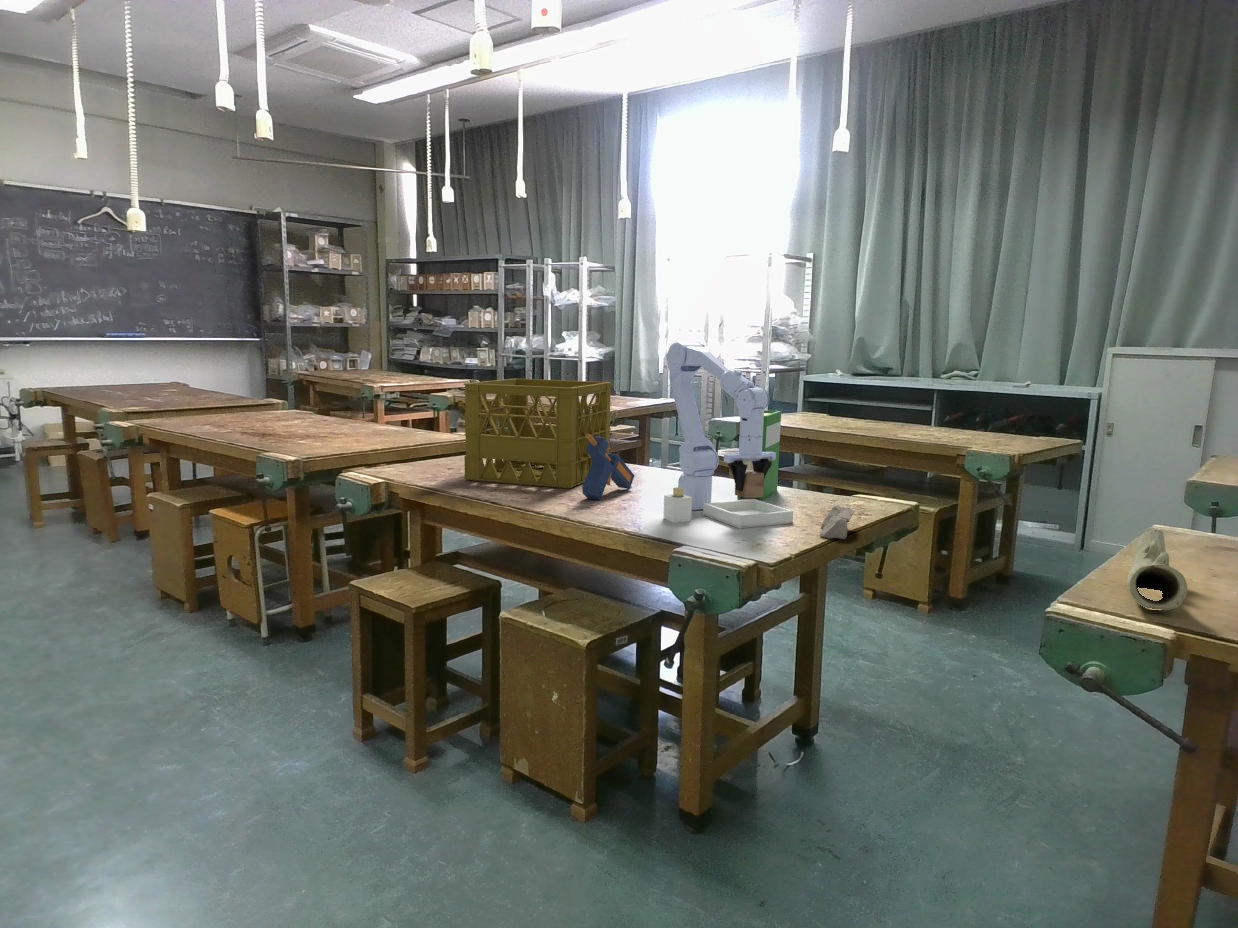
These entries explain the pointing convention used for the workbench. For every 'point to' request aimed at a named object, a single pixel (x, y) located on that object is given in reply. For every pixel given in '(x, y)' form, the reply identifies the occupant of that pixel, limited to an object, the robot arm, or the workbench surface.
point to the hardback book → (769, 445)
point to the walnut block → (752, 485)
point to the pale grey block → (677, 506)
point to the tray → (748, 513)
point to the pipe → (1155, 573)
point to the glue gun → (604, 469)
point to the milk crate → (534, 431)
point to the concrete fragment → (836, 522)
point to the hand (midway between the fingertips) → (748, 489)
